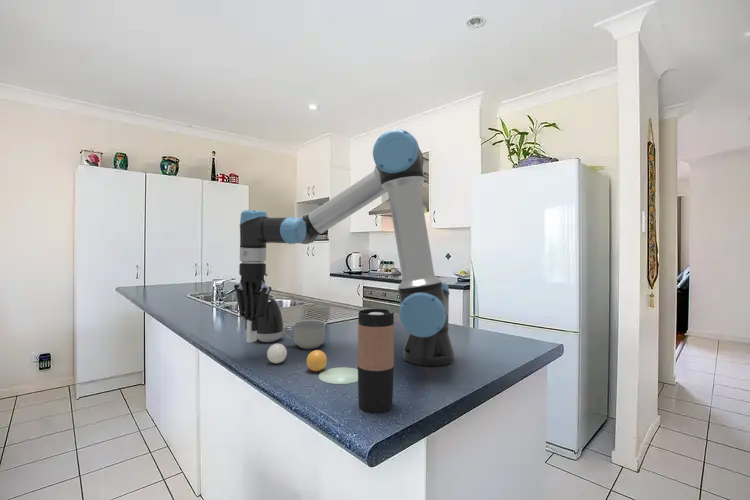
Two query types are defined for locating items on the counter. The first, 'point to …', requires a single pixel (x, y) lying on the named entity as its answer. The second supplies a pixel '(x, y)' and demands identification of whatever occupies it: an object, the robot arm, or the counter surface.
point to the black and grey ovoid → (270, 323)
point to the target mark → (339, 375)
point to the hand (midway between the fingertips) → (251, 341)
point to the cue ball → (276, 353)
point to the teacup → (307, 333)
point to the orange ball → (316, 360)
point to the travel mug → (375, 359)
